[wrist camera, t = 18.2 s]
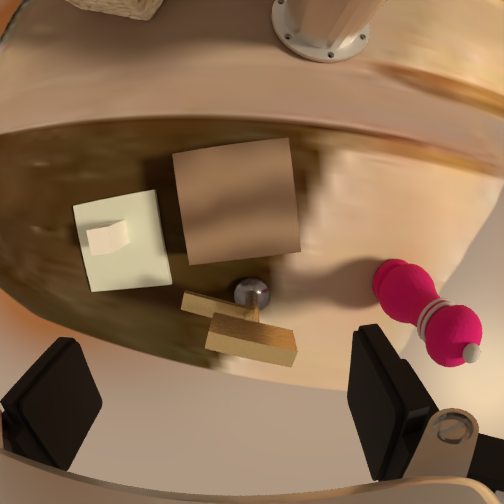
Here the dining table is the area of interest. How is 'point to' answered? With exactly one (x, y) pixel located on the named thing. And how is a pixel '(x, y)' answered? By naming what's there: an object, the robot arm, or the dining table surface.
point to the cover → (123, 242)
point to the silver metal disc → (252, 285)
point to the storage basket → (121, 7)
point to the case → (237, 201)
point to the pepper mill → (428, 313)
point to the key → (242, 329)
